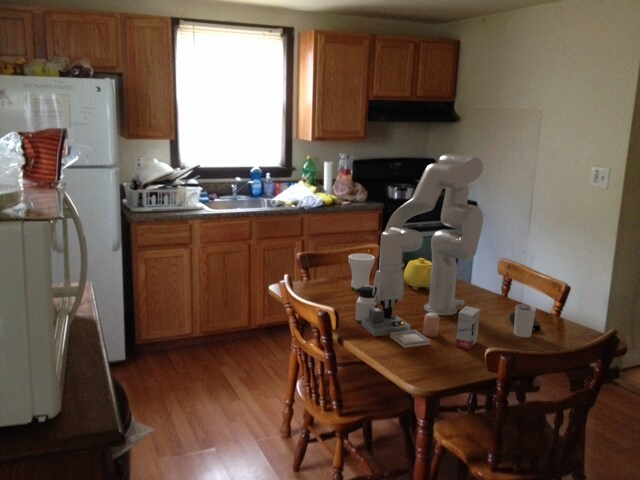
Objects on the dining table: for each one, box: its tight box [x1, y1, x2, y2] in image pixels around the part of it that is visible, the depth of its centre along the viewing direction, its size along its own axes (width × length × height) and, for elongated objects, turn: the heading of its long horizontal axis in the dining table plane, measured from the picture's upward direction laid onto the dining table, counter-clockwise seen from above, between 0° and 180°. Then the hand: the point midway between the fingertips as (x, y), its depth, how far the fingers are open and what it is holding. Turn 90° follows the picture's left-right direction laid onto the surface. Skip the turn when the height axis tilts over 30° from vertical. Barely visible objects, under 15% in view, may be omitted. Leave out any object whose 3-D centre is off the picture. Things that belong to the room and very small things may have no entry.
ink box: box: [455, 305, 481, 350], centre depth 192 cm, size 9×5×12 cm, turn 148°
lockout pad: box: [389, 329, 431, 348], centre depth 194 cm, size 10×10×1 cm
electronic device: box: [509, 311, 541, 332], centre depth 213 cm, size 9×6×15 cm
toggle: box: [369, 307, 384, 323], centre depth 201 cm, size 4×4×5 cm
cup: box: [348, 253, 376, 292], centre depth 246 cm, size 11×11×14 cm
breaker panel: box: [361, 314, 412, 337], centre depth 203 cm, size 14×10×4 cm
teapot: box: [403, 257, 432, 291], centre depth 251 cm, size 14×20×13 cm
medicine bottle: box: [355, 285, 379, 322], centre depth 212 cm, size 7×7×12 cm
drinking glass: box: [513, 303, 537, 338], centre depth 202 cm, size 7×7×10 cm
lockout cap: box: [422, 312, 440, 338], centre depth 200 cm, size 5×5×7 cm
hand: (387, 317), depth 202 cm, fingers closed
